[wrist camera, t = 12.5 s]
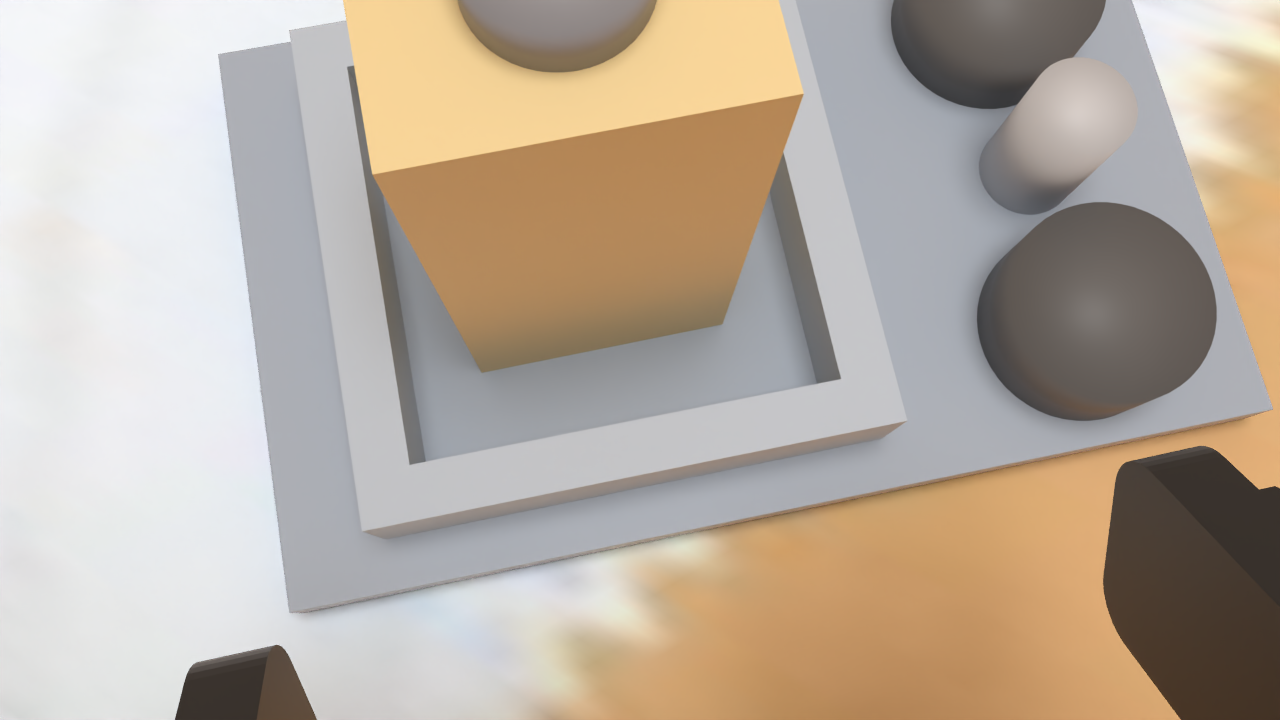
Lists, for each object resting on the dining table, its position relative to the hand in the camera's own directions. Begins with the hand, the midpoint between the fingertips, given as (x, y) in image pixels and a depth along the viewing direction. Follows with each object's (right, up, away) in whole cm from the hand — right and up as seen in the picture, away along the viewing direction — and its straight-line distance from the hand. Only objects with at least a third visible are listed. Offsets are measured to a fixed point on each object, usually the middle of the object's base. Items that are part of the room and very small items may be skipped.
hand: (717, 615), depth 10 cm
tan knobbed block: (-2, +5, +12) cm, 13 cm away
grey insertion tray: (+1, +5, +13) cm, 14 cm away
